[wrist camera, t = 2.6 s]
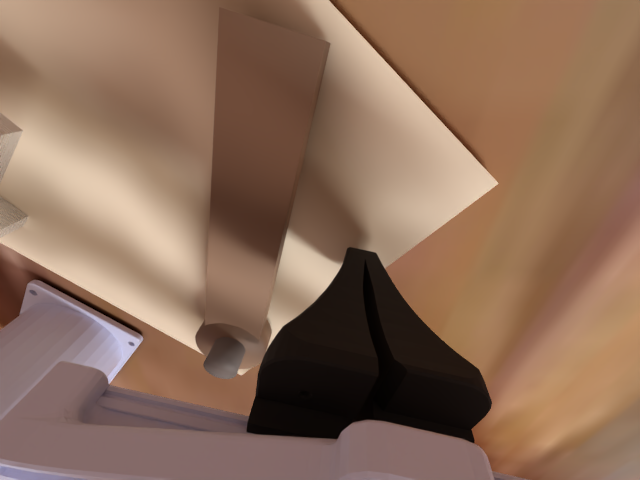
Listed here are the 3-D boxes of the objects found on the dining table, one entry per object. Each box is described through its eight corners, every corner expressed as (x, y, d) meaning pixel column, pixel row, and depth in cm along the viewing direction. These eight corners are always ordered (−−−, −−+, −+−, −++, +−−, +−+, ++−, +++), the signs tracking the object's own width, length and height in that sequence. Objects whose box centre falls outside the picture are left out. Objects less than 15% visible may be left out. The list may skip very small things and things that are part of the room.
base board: (245, 363, 22) (241, 375, 21) (-46, 197, 16) (-68, 205, 15) (488, 174, 12) (498, 183, 11) (-36, -390, 7) (-93, -455, 6)
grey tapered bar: (267, 351, 19) (252, 397, 16) (207, 335, 18) (183, 378, 16) (345, 48, 9) (339, 44, 7) (226, 10, 9) (174, -9, 7)
